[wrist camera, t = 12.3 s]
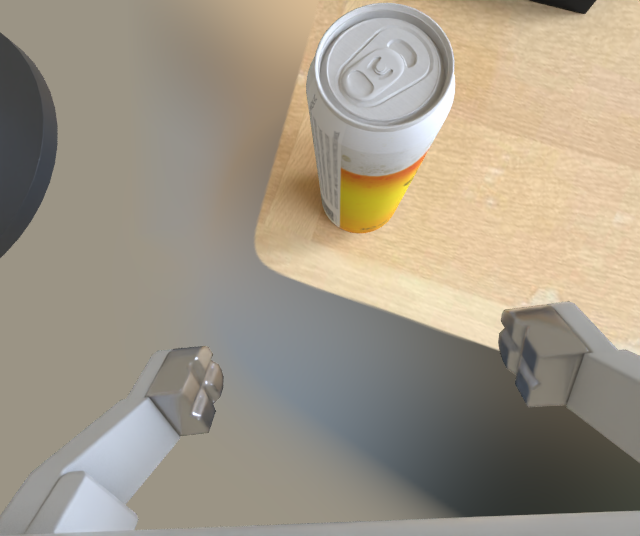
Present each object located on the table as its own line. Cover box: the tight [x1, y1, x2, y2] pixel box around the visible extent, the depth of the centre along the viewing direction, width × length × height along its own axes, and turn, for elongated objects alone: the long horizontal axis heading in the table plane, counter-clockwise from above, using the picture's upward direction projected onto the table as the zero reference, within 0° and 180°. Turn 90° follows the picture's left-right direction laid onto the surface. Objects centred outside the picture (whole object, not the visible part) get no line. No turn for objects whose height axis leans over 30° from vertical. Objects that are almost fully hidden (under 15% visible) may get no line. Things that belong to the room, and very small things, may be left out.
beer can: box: [306, 3, 455, 233], centre depth 20 cm, size 6×6×15 cm
